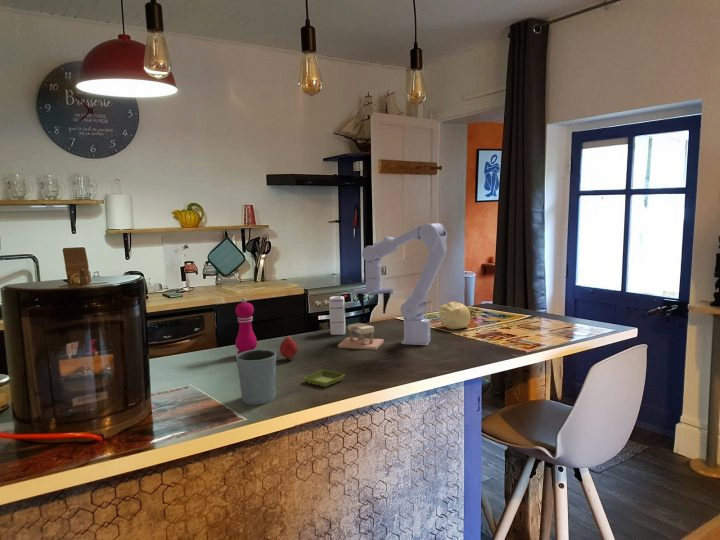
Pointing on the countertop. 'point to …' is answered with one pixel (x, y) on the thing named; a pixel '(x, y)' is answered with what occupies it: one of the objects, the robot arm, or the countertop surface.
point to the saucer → (324, 378)
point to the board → (357, 343)
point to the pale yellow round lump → (454, 315)
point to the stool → (361, 331)
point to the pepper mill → (245, 327)
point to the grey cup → (257, 375)
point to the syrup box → (337, 315)
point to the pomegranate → (288, 348)
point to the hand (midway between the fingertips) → (373, 313)
